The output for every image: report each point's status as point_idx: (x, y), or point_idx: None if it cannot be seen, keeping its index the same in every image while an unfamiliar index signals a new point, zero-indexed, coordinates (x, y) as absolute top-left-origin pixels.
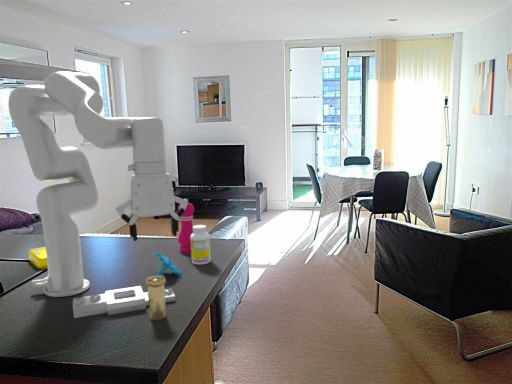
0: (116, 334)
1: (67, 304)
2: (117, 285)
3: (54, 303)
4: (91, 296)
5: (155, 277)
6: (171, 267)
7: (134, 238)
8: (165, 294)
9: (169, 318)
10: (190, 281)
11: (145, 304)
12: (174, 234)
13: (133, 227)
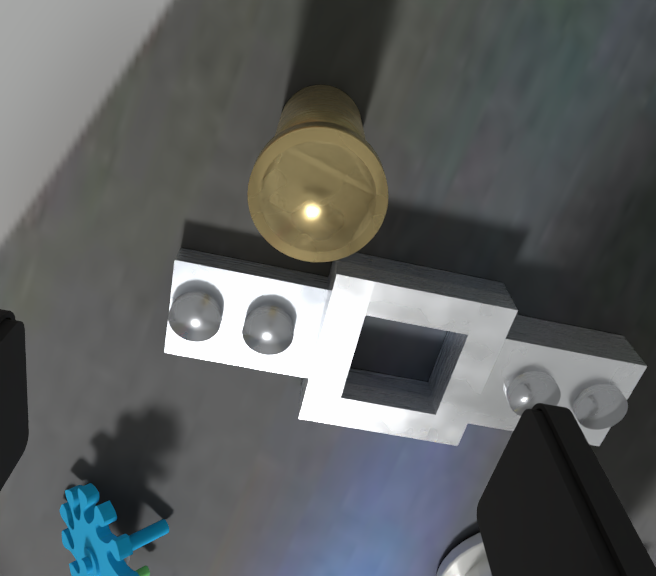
0: (569, 57)
1: None
2: (346, 522)
3: None
4: None
5: (306, 230)
6: (100, 510)
7: (577, 424)
8: (213, 299)
9: (278, 67)
10: (44, 408)
11: None
12: (3, 325)
13: (653, 569)
